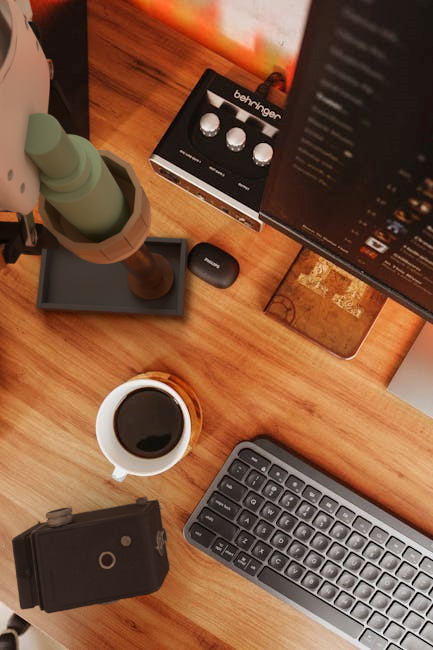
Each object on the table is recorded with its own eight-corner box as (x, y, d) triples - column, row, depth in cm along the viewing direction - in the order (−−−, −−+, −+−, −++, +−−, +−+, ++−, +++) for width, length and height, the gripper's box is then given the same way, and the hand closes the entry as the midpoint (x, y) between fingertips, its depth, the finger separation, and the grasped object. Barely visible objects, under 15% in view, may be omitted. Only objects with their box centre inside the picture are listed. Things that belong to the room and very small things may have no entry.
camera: (159, 478, 66) (31, 505, 65) (154, 492, 55) (-1, 526, 54) (176, 570, 65) (46, 600, 63) (174, 604, 53) (16, 642, 52)
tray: (43, 310, 68) (36, 307, 66) (50, 237, 69) (43, 231, 67) (183, 318, 67) (181, 315, 65) (188, 243, 68) (186, 238, 66)
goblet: (119, 306, 67) (33, 247, 39) (123, 246, 68) (43, 146, 40) (180, 309, 67) (137, 252, 39) (184, 249, 67) (145, 150, 40)
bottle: (71, 240, 43) (-7, 171, 29) (76, 185, 43) (2, 92, 30) (127, 243, 43) (76, 175, 29) (132, 188, 43) (83, 95, 30)
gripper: (-149, -173, 24) (4, 62, 41) (-209, 217, 22) (-22, 294, 39) (25, -165, 24) (106, 67, 41) (-19, 227, 22) (86, 300, 39)
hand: (44, 178), depth 40 cm, fingers open, 9 cm apart
